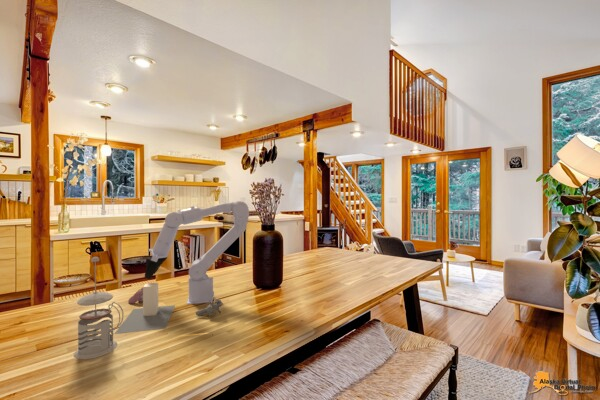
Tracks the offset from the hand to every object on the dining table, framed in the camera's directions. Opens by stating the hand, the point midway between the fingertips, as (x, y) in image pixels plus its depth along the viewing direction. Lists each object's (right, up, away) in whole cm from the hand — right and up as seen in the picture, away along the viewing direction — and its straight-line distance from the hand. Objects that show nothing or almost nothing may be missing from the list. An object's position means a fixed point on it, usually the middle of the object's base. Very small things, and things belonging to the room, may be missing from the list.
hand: (149, 275), depth 112 cm
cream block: (+5, -11, -9) cm, 15 cm away
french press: (+3, -12, -32) cm, 34 cm away
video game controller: (-5, -12, +5) cm, 14 cm away
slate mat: (+6, -11, -13) cm, 18 cm away
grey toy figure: (+26, -12, -11) cm, 31 cm away
